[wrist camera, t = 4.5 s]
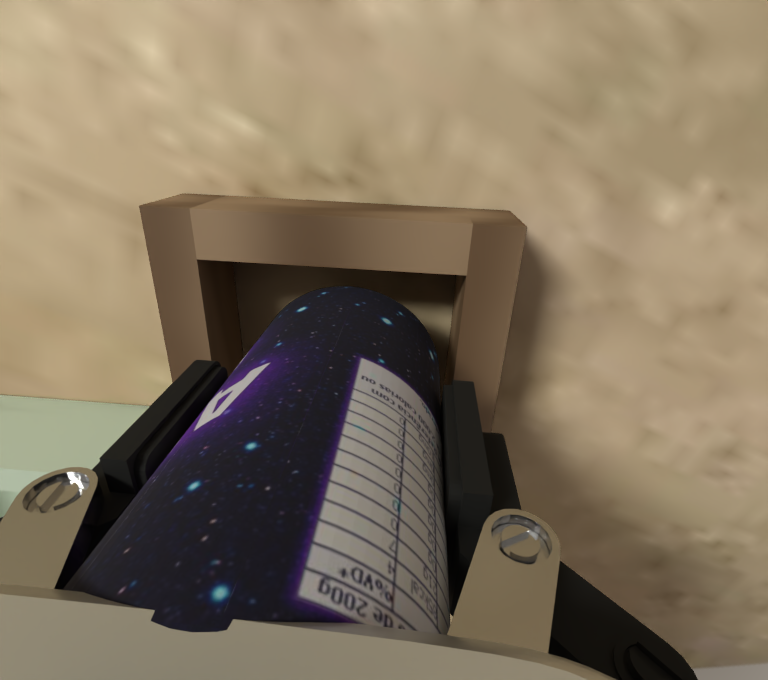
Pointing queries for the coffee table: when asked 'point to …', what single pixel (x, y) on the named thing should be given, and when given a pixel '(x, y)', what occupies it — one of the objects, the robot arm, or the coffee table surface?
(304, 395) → the beverage can
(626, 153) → the coffee table surface
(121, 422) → the tray
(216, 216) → the socket block
